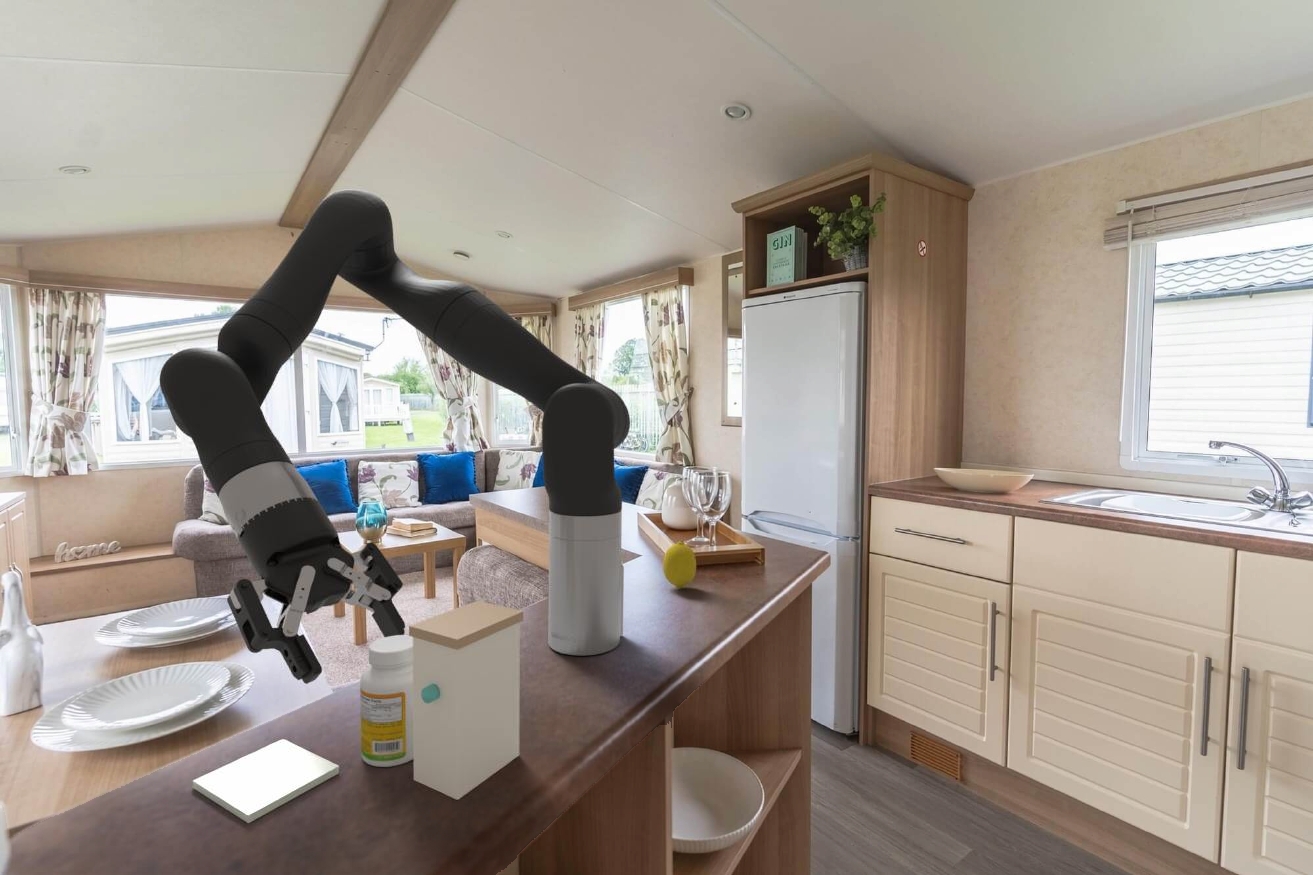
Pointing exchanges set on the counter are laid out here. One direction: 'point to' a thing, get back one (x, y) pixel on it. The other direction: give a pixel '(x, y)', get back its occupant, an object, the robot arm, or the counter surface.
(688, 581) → the lemon
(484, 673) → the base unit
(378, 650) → the supplement bottle
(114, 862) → the counter surface
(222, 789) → the plate
